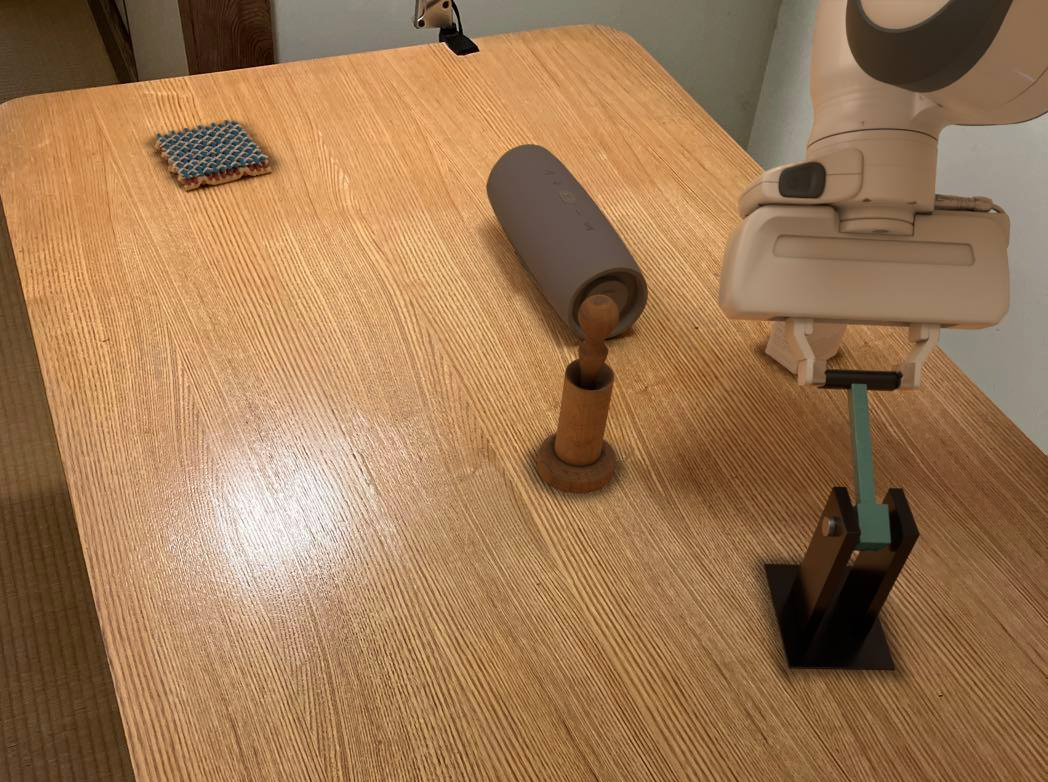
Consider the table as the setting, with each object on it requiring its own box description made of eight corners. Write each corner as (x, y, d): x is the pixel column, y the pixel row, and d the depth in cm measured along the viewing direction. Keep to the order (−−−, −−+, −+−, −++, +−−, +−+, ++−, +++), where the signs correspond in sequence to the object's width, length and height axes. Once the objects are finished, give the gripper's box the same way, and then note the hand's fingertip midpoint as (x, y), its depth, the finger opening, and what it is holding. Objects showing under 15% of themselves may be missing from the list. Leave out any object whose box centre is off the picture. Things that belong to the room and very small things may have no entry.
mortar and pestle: (572, 513, 89) (599, 338, 76) (520, 470, 92) (537, 294, 79) (628, 479, 92) (663, 305, 79) (576, 438, 95) (601, 263, 82)
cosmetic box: (802, 339, 107) (837, 232, 98) (836, 364, 105) (875, 256, 96) (759, 360, 104) (791, 252, 95) (793, 386, 102) (829, 278, 93)
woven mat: (184, 195, 117) (181, 178, 116) (153, 149, 123) (150, 133, 122) (274, 175, 121) (273, 158, 120) (240, 132, 127) (238, 115, 126)
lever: (812, 375, 79) (824, 362, 76) (885, 378, 79) (899, 365, 77) (824, 550, 75) (836, 541, 73) (900, 552, 76) (915, 543, 73)
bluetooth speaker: (645, 343, 105) (662, 254, 98) (557, 359, 102) (568, 269, 95) (559, 219, 119) (568, 133, 111) (479, 230, 116) (483, 144, 109)
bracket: (760, 573, 86) (803, 457, 76) (858, 575, 86) (912, 460, 77) (784, 676, 79) (834, 564, 70) (890, 678, 80) (954, 566, 70)
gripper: (988, 208, 80) (977, 396, 81) (717, 195, 79) (708, 385, 79) (1035, 186, 74) (1022, 390, 74) (741, 171, 72) (731, 379, 73)
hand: (857, 388), depth 77 cm, fingers closed on lever, 5 cm apart
